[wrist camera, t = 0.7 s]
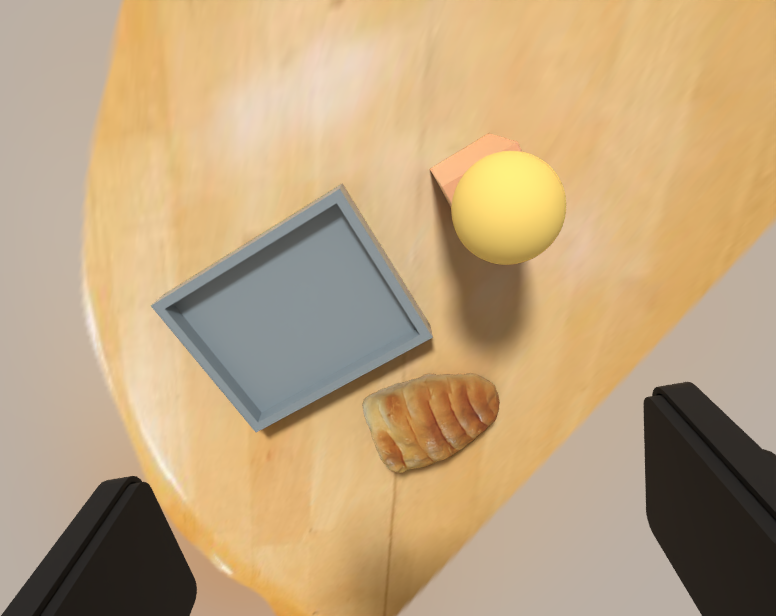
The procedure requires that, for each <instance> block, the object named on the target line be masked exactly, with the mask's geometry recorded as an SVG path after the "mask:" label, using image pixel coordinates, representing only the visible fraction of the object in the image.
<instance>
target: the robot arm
mask: <svg viewBox="0 0 776 616" xmlns="http://www.w3.org/2000/svg"><path fill="white" fill-rule="evenodd" d="M644 439H645V440H644V441H645V478H646V479H645V480H646V513H647V519H648V522H649V525H650V528H651V530H652V532H653V534H654V536H655V538H656V539H657V541H658V543H659V544H660V546H661V548H662V549H663V551H664V553H665V554H666V556H667V558H668V559H669V561H670V563H671V564H672V566H673V568H674V569H675V571H676V573H677V575H678V576H679V578H680V580H681V581H682V583H683V584H684V586H685V588H686V589H687V591H688V593H689V595H690V596H691V598H692V599H693V601H694V603H695V604H696V606H697V608H698V610H699V611H700V613H701V614H702V616H776V455H775V454H773V453H772V452H770V451H767V450H764V449H761V448H760V447H759V445H757V444H756V443H755V442H754V441H753V440H752V439H751V438H750V437H749V436H748V435H747V434H746V433H745V432H744V431H743V430H742V429H741V428H739V426H737V425H736V424H735V423H734V422H733V421H732V420H731V419H730V418H729V417H728V416H727V415H726V414H725V413H724V412H723V411H722V410H721V409H720V408H719V407H718V406H716V405H715V404H714V403H713V402H712V401H711V400H710V399H709V398H708V397H707V396H706V395H705V394H704V393H703V392H702V391H701V390H700V389H699V388H698V387H696V386H695V385H694V384H693V383H691V382H684V383H678V384H672V385H666V386H660V387H656V388H655V389H654V390H653V394H652V396H651V397H646V398H645V400H644ZM196 594H197V587H196V581H195V578H194V576H193V574H192V572H191V570H190V568H189V566H188V564H187V562H186V560H185V558H184V555H183V553H182V551H181V549H180V547H179V545H178V543H177V541H176V539H175V537H174V535H173V533H172V530H171V528H170V526H169V524H168V522H167V520H166V518H165V516H164V514H163V512H162V509H161V507H160V505H159V503H158V501H157V499H156V497H155V495H154V493H153V491H152V489H151V487H150V485H149V484H148V483H146V482H142V481H141V479H139V478H138V477H135V476H130V477H124V478H118V479H112V480H107V481H104V482H102V483H101V484H100V485H99V486H98V487H97V489H96V490H95V491H94V493H93V494H92V495H91V497H90V498H89V499H88V501H87V502H86V503H85V505H84V506H83V507H82V509H81V510H80V511H79V513H78V514H77V515H76V517H75V518H74V519H73V521H72V522H71V523H70V525H69V526H68V527H67V529H66V530H65V531H64V533H63V534H62V535H61V536H60V538H59V539H58V541H57V542H56V543H55V545H54V546H53V547H52V548H51V550H50V551H49V552H48V554H47V555H46V556H45V558H44V559H43V561H42V562H41V563H40V565H39V566H38V567H37V569H36V570H35V571H34V572H33V574H32V575H31V576H30V578H29V579H28V580H27V582H26V583H25V584H24V586H23V587H22V588H21V590H20V591H19V593H18V594H17V595H16V596H15V598H14V599H13V600H12V602H11V603H10V604H9V606H8V607H7V609H6V610H5V611H4V612H3V614H2V615H1V616H190V613H191V610H192V608H193V605H194V603H195V599H196Z"/></svg>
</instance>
